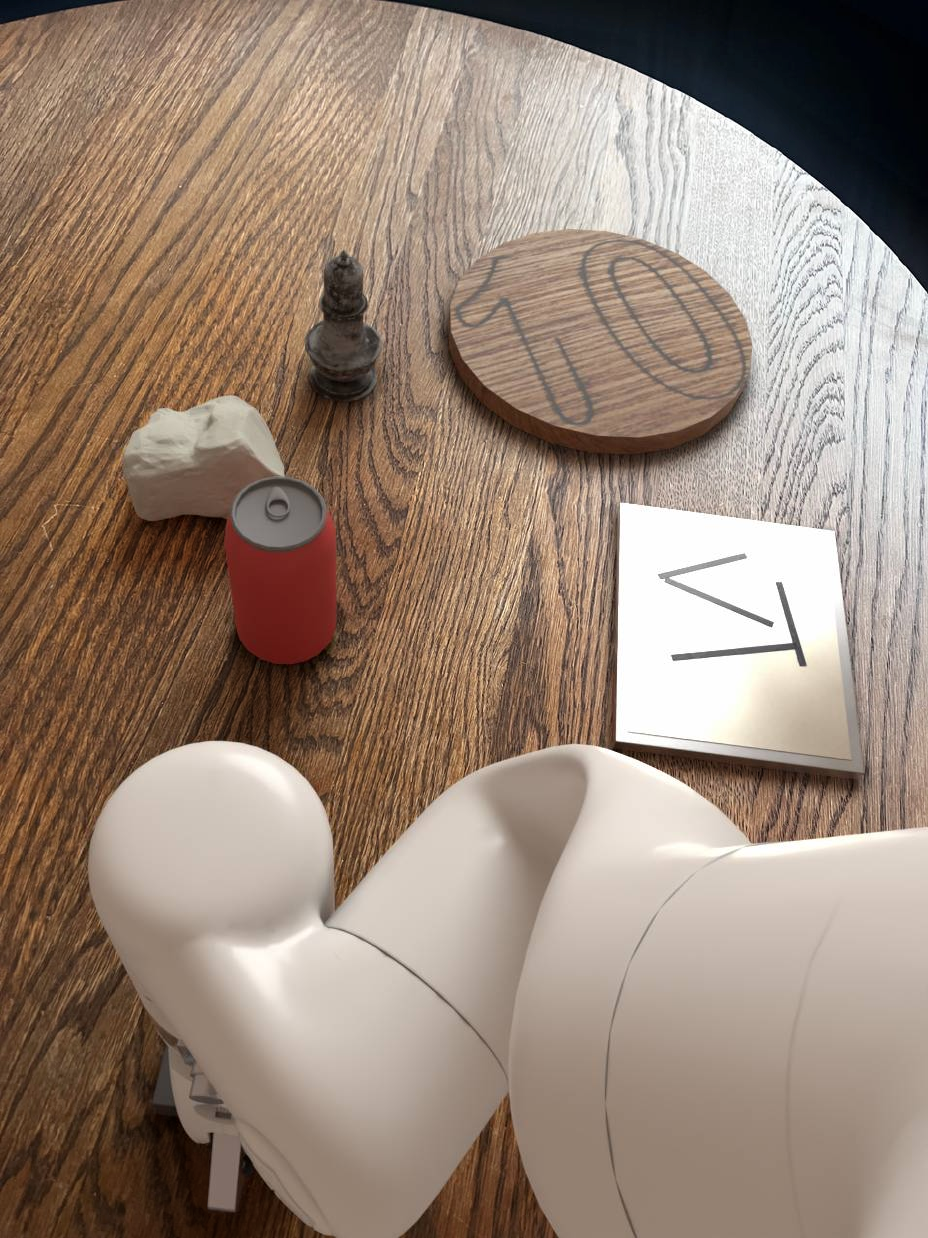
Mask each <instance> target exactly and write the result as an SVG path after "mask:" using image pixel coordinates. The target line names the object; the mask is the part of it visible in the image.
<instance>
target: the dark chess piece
mask: <svg viewBox="0 0 928 1238" xmlns="http://www.w3.org/2000/svg"><path fill="white" fill-rule="evenodd" d="M318 307H319V310H320V311H321V313H323V314H322V315H323V317H322V318H323V319H322V320H321V321H319V322H317V323H316V324H314V325H312V326H311V328H310V329H309V330H308V331H307V333H306V335H305V337H304V349H305V351H306V354H307V356H308V357H309V359H310V361H311V363H312V366H311V369H310V371H309V383H310V385H311V388H312V389H313V390H314V391H315V392H316V393H317V394H318V395H320V396H321V397H322V398H325V399H328V400H329V401H335V402H339V403H341V402H342V403H343V402H344V403H348V402H356V401H358V400H361V399H364V398H365V397H367V396H368V395H370V394H371V393H372V392H373V390H374V389H375V388H376V385H377V382H378V379H377V378H378V374H377V373H376V369H375V368H374V366H375V364H376V361H377V359H378V358H379V357H380V355H381V352H382V349H383V341H382V338H381V335H380V334H379V332H378V331H377V330H376V329H375V327H373V326H371V325H370V324H368V323H367V322H365V321H364V316H365V315H364V314H365V313H366V312H367V311H368V308H369V301H368V298H367V296H366V295H365V294H364V267H363V266H362V264H361V263H360V261H359V260H358V259H356V258H355V257H353V256H349V253H348V252H347V251H346V250H342V251H340V253H339V254H338V255H337V256H335V257H333V258H331V259H330V260H328V261H327V263H326V264H325V266H324V269H323V294H321V296H320V298H319V301H318Z"/></svg>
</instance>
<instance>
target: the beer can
mask: <svg viewBox="0 0 928 1238" xmlns="http://www.w3.org/2000/svg"><path fill="white" fill-rule="evenodd" d="M223 542H224V549H225V550H224V551H225V556H226V564H227V571H228V577H229V578H228V579H229V586H230V593H231V602H232V608H233V615H234V623H235V628H236V631H237V636H238V639H239V641H240V642H241V643H242V645H243V646H244V647H245V649H246V650H247V651H248V652H249V653H251V654H252V655H254V656H255V657H256V658H258V659H260V660H262V661H265V662H268V663H270V664H271V663H272V664H275V665H294V664H298V663H303V662H307V661H308V660H310V659H312V658H314V657H316V656H318V655H319V654H320V653H322V652H323V650H325V648H326V647H327V646H329V644H331V641H332V639H333V637H334V635H335V633H336V631H337V530H336V527H335V525H334V521H333V518H332V516H331V512H330V511H329V509H328V506H327V504H326V501H325V499H324V497H323V495H322V494H321V493H320V492H319V491H318V489H316V487H314V486H312V485H311V484H309V482H306V481H304V480H302V479H298V478H295V477H293V476H285V477H281V476H274V477H268V478H263V479H259V480H257V481H255V482H253V483H251V484H249V485H247V486H246V487H245V488H244V489H242V490H241V491H240V492H239V493H238V494H237V496H236V497H235V499H234V501H233V503H232V504H231V512H230V515H229V517H228V520H227V519H226V524H225V531H224V539H223Z"/></svg>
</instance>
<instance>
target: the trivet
mask: <svg viewBox="0 0 928 1238" xmlns="http://www.w3.org/2000/svg"><path fill="white" fill-rule="evenodd" d="M448 312H449V313H448V321H447V322H448V323H447V326H448V327H447V329H448V351H449V353H450V355H451V358H452V360H453V362H454V365H455V368H456V370H457V372H458V374H459V377H460V379H461V380H462V381H463V383H464V384H465V385H466V386H467V387H468V388H469V390H470V391H471V392H472V393H473V394H474V396H475V397H476V398H477V399H478V401H479V402H480V403H481V404H482V405H483V406H485V407H486V408H487V409H489V410H490V411H491V412H493V413H494V414H496V415H497V416H498V417H500V418H501V419H502V420H504V421H505V422H507V423H508V424H509V425H511V426H512V427H514V428H516V429H518V430H520V431H523V432H524V433H527V434H529V435H531V436H534V437H536V438H538V439H541V440H542V441H544V442H547V443H550V444H553V445H557V446H559V447H564V448H565V447H566V448H569V449H575V450H577V451H578V450H579V451H582V452H586V453H589V454H610V455H639V454H640V455H641V454H646V453H651V452H657V451H658V452H659V451H664V450H669V449H674V448H676V447H679V446H681V445H683V444H685V443H689V442H690V441H692V440H695V439H698V438H700V437H702V436H705V434H707V433H708V432H710V430H712V429H713V428H714V427H715V426H717V425H718V424H719V423H720V422H721V421H723V420H724V419H725V418H726V417H728V415H729V414H730V413H731V411H732V409H733V408H734V406H735V404H736V402H737V401H738V399H739V398H740V395H741V394H742V392H743V390H744V387H745V385H746V382H747V380H748V377H749V374H750V370H751V362H752V355H753V354H752V353H753V342H752V338H751V335H750V332H749V331H750V330H749V326H748V323H747V319H746V317H745V316H744V314H743V313H742V310H741V309H740V307H739V306H738V305H737V303H736V302H735V300H734V298H733V297H732V295H731V294H730V293H729V292H728V290H726V289H725V288H724V287H723V286H722V285H721V284H720V283H719V282H717V280H716V279H715V278H713V276H711V274H710V273H708V271H706V270H705V269H703V268H701V267H700V266H698V265H697V264H695V263H693V262H691V260H689V259H687V258H685V257H683V256H682V255H680V254H679V253H677V252H676V251H673V250H670V249H668V248H665V247H663V246H660V245H658V244H655V243H654V242H653V243H652V242H651V241H648V240H645V239H643V238H639V237H634V236H630V235H625V234H620V233H617V232H613V231H607V230H592V229H577V228H576V229H575V228H567V229H566V228H565V229H558V230H557V229H556V230H548V231H541V232H539V231H538V232H533V233H530V234H527V235H524V236H521V237H518V238H515V239H511V240H509V241H506V242H503V243H500V244H499V245H497V247H494V248H493V249H492V250H489V251H488V252H486V253H485V254H483V255H481V256H480V257H478V258H477V259H476V260H475V261H474V262H473V263H472V265H470V266H469V268H468V269H467V271H466V272H464V274H463V275H462V276H461V277H460V278H459V279H458V282H457V285H456V287H455V290H454V293H453V296H452V298H451V301H450V304H449V311H448Z"/></svg>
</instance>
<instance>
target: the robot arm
mask: <svg viewBox="0 0 928 1238" xmlns="http://www.w3.org/2000/svg"><path fill="white" fill-rule="evenodd" d="M334 855H335V853H334V838H333V834H332V829H331V824H330V821H329V817H328V814H327V811H326V808H325V806H324V804H323V802H322V800H321V798H320V797H319V795H318V793H317V792H316V791H315V789H314V788H313V786H312V785H311V783H310V782H309V781H308V779H307V778H305V776H303V774H302V773H301V772H299V770H298V769H296V768H295V767H294V766H293V765H291V764H290V763H288V761H286V760H284V759H282V758H281V757H280V756H278V755H276V754H274V753H272V752H271V751H268V750H266V749H263V748H261V747H258V746H256V745H251V744H247V743H243V742H237V741H227V740H207V741H200V742H194V743H193V742H192V743H188V744H185V745H181V746H179V747H174V748H172V749H169V750H167V751H165V752H163V753H161V754H159V755H157V756H154V757H153V758H151V759H150V760H148V761H147V762H145V763H143V764H142V765H140V766H138V768H136V769H135V770H134V771H133V772H132V773H131V774H130V775H128V776H127V777H126V778H125V779H124V780H123V781H122V782H121V783H120V784H119V785H118V787H117V788H116V789H115V791H114V792H113V793H112V795H111V796H109V799H108V800H107V801H106V803H105V805H104V806H103V809H102V810H101V813H100V814H99V816H98V818H97V820H96V822H95V826H94V829H93V832H92V835H91V838H90V842H89V848H88V861H87V874H88V885H89V892H90V894H91V898H92V901H93V904H94V907H95V909H96V910H95V911H96V912H97V915H98V918H99V920H100V922H101V924H102V926H103V928H104V931H106V934H107V935H108V938H109V939H110V942H111V944H112V946H113V948H114V949H115V952H116V954H117V956H118V957H119V959H120V961H121V963H122V965H123V967H124V969H125V971H126V973H127V975H128V977H129V978H130V981H131V982H132V985H133V986H134V989H135V991H136V993H137V994H138V997H139V999H140V1001H141V1003H142V1005H143V1007H144V1009H145V1012H146V1013H147V1015H148V1017H149V1019H150V1021H151V1023H152V1025H153V1027H154V1029H155V1031H156V1033H157V1034H158V1035H159V1037H160V1038H161V1039H162V1040H163V1042H164V1043H165V1045H166V1044H167V1045H168V1052H169V1067H170V1077H171V1085H172V1091H173V1096H174V1101H175V1105H176V1109H177V1113H178V1116H179V1117H178V1118H179V1121H180V1123H181V1126H182V1127H183V1128H182V1129H184V1131H185V1133H186V1134H187V1136H188V1137H189V1138H190V1139H191V1140H192V1141H193V1142H195V1143H196V1144H203V1145H204V1144H208V1143H211V1140H212V1146H211V1147H212V1148H211V1159H210V1172H209V1182H208V1183H209V1185H208V1195H207V1196H208V1197H207V1210H211V1211H219V1212H227V1213H236V1212H237V1209H238V1206H239V1202H240V1199H241V1195H242V1191H243V1187H244V1183H245V1176H251V1175H252V1173H253V1172H254V1169H255V1170H256V1172H257V1173H258V1175H259V1176H260V1177H261V1178H262V1180H263V1181H264V1182H265V1184H266V1185H267V1186H268V1187H269V1189H270V1190H271V1191H273V1192H274V1195H275V1196H276V1197H277V1198H278V1199H279V1200H280V1201H281V1202H282V1203H283V1205H285V1206H286V1208H288V1209H289V1210H290V1211H291V1212H292V1213H293V1214H294V1215H295V1216H296V1217H297V1218H298V1219H299V1220H301V1221H302V1222H303V1223H304V1224H305V1225H307V1227H309V1228H313V1230H314V1231H315V1232H318V1233H320V1234H321V1235H325V1236H329V1237H330V1236H333V1237H334V1238H400V1237H401V1236H403V1235H404V1234H405V1233H407V1232H408V1231H409V1229H411V1228H412V1227H413V1226H414V1225H415V1224H416V1223H417V1222H418V1221H419V1220H420V1219H421V1217H422V1215H424V1213H425V1212H426V1211H427V1210H428V1209H429V1207H430V1206H431V1205H432V1203H433V1201H435V1199H436V1198H437V1196H439V1194H440V1192H441V1191H442V1190H443V1188H444V1187H445V1186H446V1184H447V1182H448V1181H449V1180H450V1178H451V1176H452V1175H453V1173H454V1172H455V1171H456V1169H457V1168H458V1166H459V1165H460V1163H461V1162H462V1161H463V1159H464V1157H465V1156H466V1154H468V1152H469V1151H470V1149H471V1148H472V1146H473V1144H474V1143H475V1142H476V1140H477V1139H478V1137H479V1136H480V1134H481V1133H482V1131H483V1130H484V1129H485V1127H486V1126H487V1125H488V1123H489V1121H490V1120H491V1118H492V1117H493V1115H494V1114H495V1112H496V1111H497V1109H498V1108H499V1107H500V1105H501V1104H502V1102H503V1101H504V1099H505V1098H506V1096H507V1095H508V1097H509V1107H510V1114H511V1120H512V1127H513V1131H514V1132H513V1133H514V1136H515V1140H516V1144H517V1147H518V1152H519V1155H520V1158H521V1163H522V1166H523V1169H524V1172H525V1175H526V1177H527V1180H528V1183H529V1184H530V1186H531V1189H532V1192H533V1194H534V1196H535V1198H536V1200H537V1203H538V1206H539V1208H540V1209H541V1211H542V1213H543V1214H544V1216H545V1218H546V1219H547V1221H548V1224H550V1226H551V1228H552V1229H553V1231H554V1233H555V1234H556V1236H557V1238H928V826H921V827H912V828H911V827H910V828H903V829H902V828H901V829H893V830H884V831H883V830H882V831H873V832H865V833H854V834H846V835H836V836H827V837H818V838H809V839H800V840H799V839H798V840H790V841H789V840H778V841H775V840H774V841H765V842H764V841H763V842H756V843H752V842H751V841H750V840H749V838H748V837H747V836H746V834H744V832H743V831H742V830H740V828H739V827H738V826H737V825H736V824H735V823H734V822H733V821H732V820H731V819H730V818H729V817H728V815H726V814H725V813H724V812H723V811H722V810H721V809H720V808H718V807H717V806H716V805H715V804H713V803H712V802H711V801H709V800H707V799H706V798H705V797H704V796H702V795H701V794H700V793H698V792H697V791H696V790H694V789H693V788H691V787H690V786H689V785H688V784H685V783H684V782H682V781H680V780H678V779H676V778H675V777H673V776H671V775H670V774H668V773H666V772H664V771H662V770H660V769H657V768H655V767H653V766H651V765H649V764H647V763H644V762H642V761H640V760H637V759H636V758H633V757H630V756H627V755H626V754H622V753H619V752H616V751H614V750H611V749H609V748H605V747H602V746H597V745H592V744H583V743H581V744H580V743H569V744H561V745H555V746H554V745H553V746H550V747H546V748H543V749H542V748H541V749H538V750H534V751H531V752H527V753H525V754H521V755H520V754H519V755H516V756H514V757H509V758H506V759H503V760H501V761H497V762H494V763H491V764H489V765H487V766H484V767H482V768H479V769H477V770H475V771H473V772H471V773H469V774H467V775H466V776H464V777H463V778H461V779H460V780H458V781H456V782H455V783H453V784H452V785H450V786H449V787H448V788H447V789H445V790H444V791H443V792H442V793H440V794H439V795H438V796H437V797H436V798H435V799H434V800H433V801H432V802H431V803H430V804H429V805H428V806H427V807H426V808H425V809H424V810H423V811H422V812H421V814H419V815H418V817H416V819H415V820H414V821H413V822H412V823H411V824H410V825H409V826H408V827H407V829H405V831H404V832H403V833H402V834H401V835H400V836H399V837H398V838H397V840H396V841H395V842H394V843H393V844H392V845H391V846H390V847H389V848H388V850H386V851H385V853H384V854H383V855H382V856H381V858H379V859H378V861H377V862H376V863H375V864H374V865H373V867H372V868H371V869H370V870H369V871H368V872H367V874H366V875H365V876H364V877H363V878H362V879H361V881H360V882H359V883H358V884H357V885H356V887H354V889H353V890H351V892H350V893H349V895H347V897H346V898H345V899H344V900H343V901H342V903H341V904H339V906H338V907H337V909H336V907H335V905H336V903H335V902H336V901H335V898H336V897H335V896H336V895H335V857H334Z"/></svg>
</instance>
